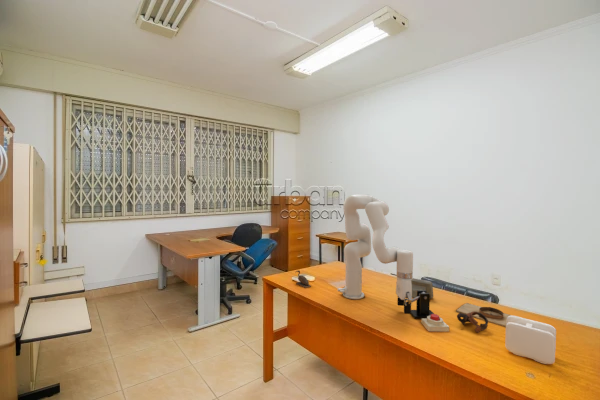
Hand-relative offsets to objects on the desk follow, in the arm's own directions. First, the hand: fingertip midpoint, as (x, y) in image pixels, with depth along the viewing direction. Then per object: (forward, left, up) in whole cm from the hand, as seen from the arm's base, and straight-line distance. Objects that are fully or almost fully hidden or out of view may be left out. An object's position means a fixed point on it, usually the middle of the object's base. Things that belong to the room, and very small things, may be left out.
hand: (403, 309), depth 140 cm
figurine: (-52, +45, -3) cm, 69 cm away
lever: (+6, 0, +4) cm, 7 cm away
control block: (+10, -12, -3) cm, 16 cm away
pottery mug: (+26, -12, -3) cm, 29 cm away
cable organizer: (+36, -32, -3) cm, 49 cm away
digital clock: (+17, +26, -3) cm, 31 cm away
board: (+42, +1, -3) cm, 42 cm away
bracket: (+9, 0, -3) cm, 10 cm away
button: (+10, -12, +1) cm, 16 cm away
